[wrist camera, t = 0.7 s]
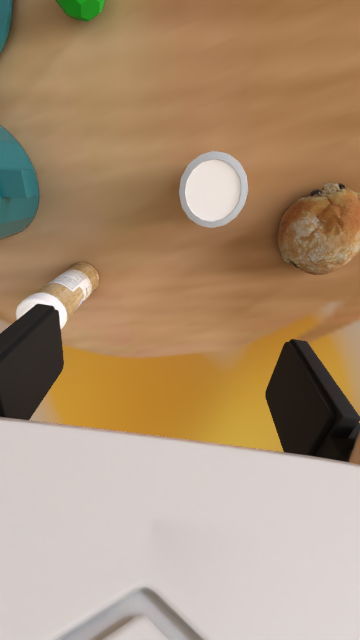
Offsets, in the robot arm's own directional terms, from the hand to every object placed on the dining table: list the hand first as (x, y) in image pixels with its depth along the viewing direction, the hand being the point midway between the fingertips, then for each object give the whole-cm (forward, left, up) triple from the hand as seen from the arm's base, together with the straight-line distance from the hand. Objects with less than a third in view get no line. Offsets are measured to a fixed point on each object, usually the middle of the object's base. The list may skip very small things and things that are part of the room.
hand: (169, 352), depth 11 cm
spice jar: (+7, -14, -27) cm, 32 cm away
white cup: (-5, +3, -27) cm, 28 cm away
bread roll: (-1, +17, -27) cm, 32 cm away
